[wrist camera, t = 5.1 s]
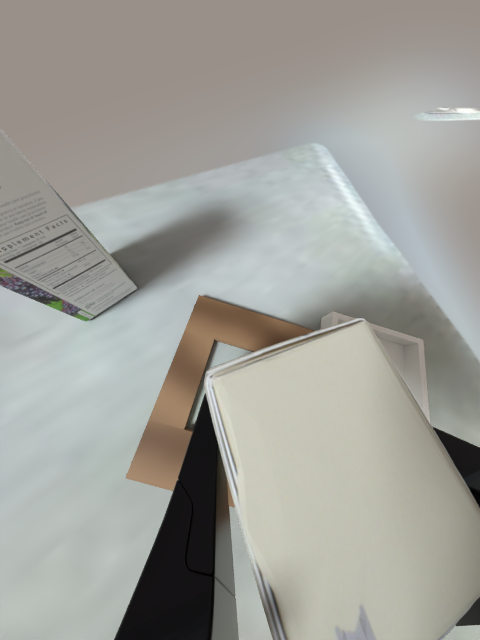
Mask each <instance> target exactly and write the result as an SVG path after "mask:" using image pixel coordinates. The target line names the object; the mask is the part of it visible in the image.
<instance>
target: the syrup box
mask: <svg viewBox="0 0 480 640" xmlns="http://www.w3.org/2000/svg"><path fill="white" fill-rule="evenodd" d="M0 286H2V287H5V288H7V289H9V290H12V291H14V292H16V293H19V294H21V295H23V296H26V297H28V298H31V299H33V300H35V301H38V302H40V303H43V304H45V305H47V306H49V307H52V308H54V309H57V310H59V311H61V312H64V313H66V314H68V315H71V316H73V317H76V318H78V319H80V320H82V321H89V320H90V319H92V318H93V317H95V316H97V315H98V314H100V313H101V312H103V311H104V310H106V309H107V308H109V307H110V306H112V305H113V304H115V303H116V302H118V301H119V300H121V299H122V298H124V297H125V296H127V295H128V294H130V293H131V292H133V291H134V290H136V289H137V286H136V285H135V283H134V282H133V281H132V280H131V279H130V278H129V276H128V275H127V274H126V273H125V272H124V270H123V269H122V268H121V267H120V266H119V265H118V263H117V262H116V261H115V260H114V259H113V258H112V256H111V255H110V254H109V253H108V252H107V251H106V249H105V248H104V247H103V246H102V245H101V244H100V242H99V241H98V240H97V239H96V238H95V237H94V235H93V234H92V233H91V232H90V231H89V230H88V228H87V227H86V226H85V225H84V224H83V223H82V221H81V220H80V219H79V218H78V217H77V216H76V214H75V213H74V212H73V211H72V210H71V209H70V207H69V206H68V205H67V204H66V203H65V201H64V200H63V199H62V198H61V197H60V196H59V195H58V193H57V192H56V191H55V190H54V189H53V188H52V187H51V186H50V185H49V183H48V182H47V181H46V180H45V179H44V177H43V176H42V175H41V174H40V173H39V172H38V171H37V169H36V168H35V167H34V166H33V165H32V164H31V163H30V161H29V160H28V159H27V158H26V157H25V156H24V154H23V153H22V152H21V151H20V150H19V149H18V148H17V146H16V145H15V144H14V143H13V142H12V141H11V140H10V138H9V137H8V136H7V135H6V134H5V133H4V132H3V130H2V129H1V128H0Z"/></svg>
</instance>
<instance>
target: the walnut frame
mask: <svg viewBox="0 0 480 640" xmlns="http://www.w3.org/2000/svg"><path fill="white" fill-rule="evenodd" d="M311 332H314V331H313V330H310V329H307V328H304V327H300V326H297V325H294V324H291V323H288V322H284V321H281V320H278V319H275V318H271V317H268V316H265V315H262V314H258V313H255V312H252V311H249V310H246V309H242V308H239V307H236V306H233V305H229V304H226V303H223V302H220V301H217V300H213V299H210V298H207V297H204V296H200V295H199V297H198V299H197V301H196V304H195V306H194V309H193V311H192V314H191V316H190V319H189V321H188V324H187V326H186V329H185V331H184V334H183V336H182V339H181V341H180V344H179V346H178V349H177V351H176V354H175V356H174V359H173V361H172V364H171V366H170V369H169V371H168V374H167V376H166V379H165V381H164V384H163V386H162V389H161V391H160V394H159V396H158V399H157V401H156V404H155V406H154V408H153V411H152V413H151V416H150V418H149V421H148V423H147V426H146V428H145V431H144V433H143V436H142V438H141V441H140V443H139V446H138V448H137V451H136V453H135V456H134V458H133V461H132V463H131V466H130V468H129V471H128V473H127V476H126V478H127V479H131V480H134V481H138V482H142V483H146V484H149V485H153V486H157V487H160V488H164V489H168V490H172V491H173V490H174V487H175V484H176V481H177V480H178V475H179V472H180V469H181V466H182V463H183V460H184V457H185V454H186V450H187V447H188V444H189V441H190V438H191V435H192V432H193V429H189V428H186V424H187V421H188V418H189V415H190V412H191V409H192V406H193V403H194V400H195V397H196V394H197V391H198V388H199V385H200V382H201V379H202V376H203V373H204V370H205V367H206V364H207V361H208V358H209V355H210V352H211V349H212V346H213V343H214V340H216V341H219V342H222V343H225V344H229V345H232V346H235V347H239V348H242V349H245V350H249V351H252V352H255V351H258V350H260V349H263V348H266V347H269V346H272V345H275V344H278V343H281V342H284V341H287V340H290V339H293V338H296V337H299V336H302V335H305V334H308V333H311ZM227 487H228V501H229V506H231V507H235V505H234V502H233V498H232V494H231V491H230V487H229V483H228V479H227Z"/></svg>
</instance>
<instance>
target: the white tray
mask: <svg viewBox="0 0 480 640" xmlns="http://www.w3.org/2000/svg"><path fill="white" fill-rule="evenodd" d="M352 319H355V318H353V317H350V316H347V315H343V314H340V313H337V312H334V311H333V312H331V313H329V314H327V315H325V316H324V317H322V318H321V326H320V330H321V329H324V328H327V327H330V326H333V325H337V324H340V323H343V322H346V321H349V320H352ZM368 323H369V322H368ZM369 325H370V326H371V328H372V330H373V331H374V333H375V334H376V336H377V338H378V339H379V341H380V342H381V344H382V345H383V347H384V349H385V350H386V352H387V353H388V355H389V357H390V358H391V360H392V361H393V363H394V364H395V366H396V367H397V369H398V371H399V373H400V374H401V376H402V378H403V379H404V381H405V382H406V384H407V386H408V387H409V389H410V390H411V392H412V394H413V395H414V397H415V399H416V400H417V402H418V404H419V405H420V407H421V409H422V410H423V412H424V414H425V416H426V417H427V419H428V421H429V422H430V412H429V401H428V389H427V378H426V366H425V354H424V343H423V339H419V338H416V337H413V336H410V335H407V334H404V333H400V332H397V331H394V330H391V329H388V328H385V327H381V326H378V325H375V324H372V323H369Z"/></svg>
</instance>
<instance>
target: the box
mask: <svg viewBox="0 0 480 640" xmlns="http://www.w3.org/2000/svg"><path fill="white" fill-rule="evenodd" d="M204 388H205V392H206V396H207V400H208V405H209V409H210V413H211V417H212V422H213V426H214V429H215V433H216V437H217V441H218V444H219V448H220V452H221V456H222V460H223V464H224V468H225V472H226V476H227V479H228V483H229V487H230V491H231V494H232V498H233V502H234V505H235V509H236V513H237V516H238V520H239V524H240V527H241V531H242V534H243V538H244V541H245V545H246V548H247V552H248V555H249V559H250V562H251V566H252V569H253V573H254V576H255V580H256V583H257V587H258V590H259V594H260V597H261V601H262V604H263V607H264V611H265V614H266V618H267V621H268V624H269V628H270V631H271V634H272V638H273V640H442V639H443V638H444V637H445V636H446V635H447V634H448V633H449V632H450V631H451V630H452V628H453V627H454V626H455V625H456V623H457V622H458V621H459V620H460V619H461V618H462V617H463V616H464V615H465V614H466V613H467V611H468V610H469V609H470V608H471V606H472V605H473V604H474V602H475V601H476V600H477V599H478V598H479V597H480V508H479V506H478V504H477V503H476V501H475V499H474V497H473V495H472V494H471V492H470V490H469V488H468V486H467V485H466V483H465V481H464V480H463V478H462V476H461V475H460V473H459V472H458V470H457V468H456V467H455V465H454V463H453V461H452V459H451V458H450V456H449V454H448V453H447V451H446V449H445V448H444V446H443V444H442V443H441V441H440V439H439V438H438V436H437V434H436V432H435V431H434V429H433V427H432V426H431V424H430V422H429V421H428V419H427V417H426V416H425V414H424V412H423V410H422V409H421V407H420V405H419V404H418V402H417V400H416V399H415V397H414V395H413V394H412V392H411V390H410V389H409V387H408V386H407V384H406V382H405V381H404V379H403V378H402V376H401V374H400V373H399V371H398V369H397V367H396V366H395V364H394V363H393V361H392V360H391V358H390V357H389V355H388V353H387V352H386V350H385V349H384V347H383V345H382V344H381V342H380V341H379V339H378V338H377V336H376V334H375V333H374V331H373V330H372V328H371V326H370V325H369V323H368V322H367V321H366V320H365V319H364V318H355V319H352V320H349V321H346V322H343V323H340V324H337V325H333V326H330V327H327V328H324V329H321V330H317V331H314V332H311V333H308V334H305V335H302V336H299V337H296V338H293V339H290V340H287V341H284V342H281V343H278V344H275V345H272V346H269V347H266V348H263V349H260V350H258V351H255V352H252V353H250V354H247V355H244V356H242V357H239V358H236V359H234V360H231V361H228V362H226V363H223V364H221V365H218V366H215V367H212V368H210V369H209V370H208V371H206V374H205V379H204Z"/></svg>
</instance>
